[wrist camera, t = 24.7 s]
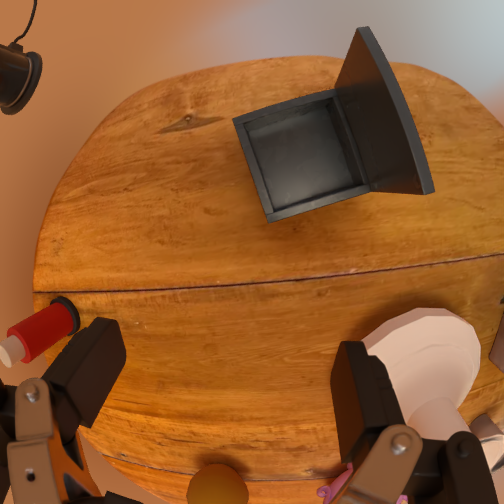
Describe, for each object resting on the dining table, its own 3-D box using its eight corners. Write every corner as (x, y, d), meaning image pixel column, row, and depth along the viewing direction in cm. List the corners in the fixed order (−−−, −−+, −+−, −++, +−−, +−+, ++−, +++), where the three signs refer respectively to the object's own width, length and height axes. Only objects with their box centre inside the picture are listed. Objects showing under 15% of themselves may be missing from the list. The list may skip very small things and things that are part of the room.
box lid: (424, 195, 13) (435, 191, 13) (356, 27, 11) (368, 25, 11) (372, 192, 24) (380, 189, 23) (333, 86, 22) (341, 85, 22)
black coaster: (47, 300, 36) (43, 302, 35) (69, 292, 35) (65, 294, 34) (63, 335, 37) (59, 337, 36) (86, 330, 36) (82, 332, 35)
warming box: (270, 219, 30) (268, 223, 26) (239, 129, 29) (231, 118, 24) (360, 191, 29) (374, 190, 24) (329, 102, 27) (337, 87, 22)
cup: (458, 432, 34) (481, 474, 22) (483, 406, 32) (512, 446, 21) (472, 438, 34) (494, 476, 22) (495, 414, 32) (521, 450, 21)
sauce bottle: (52, 296, 35) (-10, 329, 22) (75, 314, 35) (14, 354, 22) (49, 321, 36) (-7, 357, 23) (71, 339, 36) (17, 381, 23)
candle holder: (327, 311, 32) (366, 439, 13) (471, 285, 29) (570, 351, 10) (330, 430, 35) (342, 540, 16) (449, 402, 33) (498, 485, 14)
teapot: (429, 444, 35) (451, 492, 23) (398, 485, 38) (410, 529, 25) (326, 452, 36) (332, 514, 24) (306, 492, 39) (306, 543, 27)
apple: (261, 465, 38) (254, 520, 27) (237, 486, 40) (227, 534, 29) (208, 445, 38) (190, 500, 27) (189, 468, 40) (171, 516, 29)
